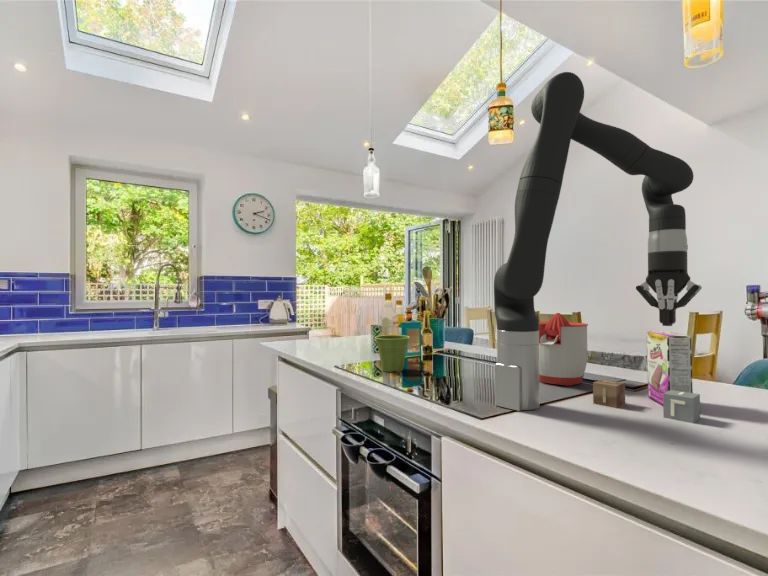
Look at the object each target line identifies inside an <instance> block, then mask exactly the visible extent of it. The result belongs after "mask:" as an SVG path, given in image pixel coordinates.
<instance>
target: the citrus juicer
mask: <svg viewBox="0 0 768 576" xmlns="http://www.w3.org/2000/svg"><path fill="white" fill-rule="evenodd" d="M588 326H589V324H588V323H585V322H573V321H568V320H567V319H566V318H565V316H563V315H562V314H561V313H559V312H557V313H556V312H555V314H553V316H552V317H551V318H549V320H547V321H539V383H541V384H543V383H544V384H552V385H560V386H561V385H562V386H564V387H571V386H572V385H579V384H580V383H582V380H583V379H584V376H585V371H586V370H587V369H586V368H587V364H588Z"/></svg>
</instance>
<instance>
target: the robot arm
mask: <svg viewBox="0 0 768 576" xmlns="http://www.w3.org/2000/svg"><path fill="white" fill-rule="evenodd" d="M584 101H585V87H584V83H583V81H582V80H581V78H580V77H579V76H578V75H577V74H576V73H573V72H571V71H564V72H563V71H562V72H560V73H558V74H556V75H554V76H553V77H551V78H550V79H549V80H547V82H546V83H545V84H544V85H543V86H542V87H541V89H540V90H539V91H538V93H537V94H536V95H535V96H534V98H533V100H532V102H531V108H530V109H531V114H532V117H533V118H534V120H535V121H536V122H537V123H539V128H538V132H537V136H536V138H535V141H534V143H533V145H532V148H531V149H530V151H529V154H528V156H527V158H526V160H525V162H524V165H523V167H522V170H521V173H520V177H519V180H518V181H519V182H518V185H517V190H516V194H515V199H514V226H515V227H514V235H513V236H514V237H513V242H512V245H511V249H510V252H509V254H508V259H507V261H506V263H504V264H502V265H500V267H499V268H498V269H497V271H495V274H494V280H493V298H494V299H493V300H494V316H495V317H494V318H495V320H496V359H497V360H496V363H495V364H494V366H495V367H494V372H495V373H494V375H495V376H494V379H495V381H494V383H495V384H494V386H495V389H494V391H495V393H494V394H495V396H494V397H495V398H494V399H495V403H494V405H495V406H497V407H502V408H505V409H510V410H514V411H518V412H521V411H529V410H532V411H533V410H536V409H539V408H540V406H541V405H540V404H541V403H540V402H541V400H540V399H541V398H540V397H541V396H540V393H541V392H540V387H541V386H540V381H539V322H540V320H539V317H538V316H537V314H536V310H535V301H534V300H535V298H534V297H535V296H536V295H538V293H539V292H540V290H541V288H542V286H543V282H544V277H545V276H544V275H545V266H546V257H547V256H546V255H547V249H548V244H549V243H548V242H549V237H550V234H551V231H552V226H553V224H554V219H555V214H556V210H557V207H558V202H559V199H560V194H561V190H562V187H563V180H564V175H565V169H566V165H567V162H568V157H569V156H568V155H569V149H570V145H571V140H572V141H574V142H576V143H578V144H580V145H583V146H584V147H586V148H588V149H590V150H591V151H594V152H595V153H597V154H598V155H599V156H601V157H602V158H604V159H606V160H607V161H609V162H610V163H611V164H612V165H614V166H615V167H617V168H619V169H620V170H622V171H623V172H624V173H626V174H628V175H629V176H639V175H640V176H641V175H643V176H644V177H643V179H642V183H641V193H642V197H643V202H644V205H645V208H646V211H647V214H648V238H647V276H646V277H645V281H644V282H643V283H641V284H640V285H636V286H635V290H636V291H637V292H638V293H639V294H640V295H641V296H642V298H643V299H644V300H645V301H646V302H647V304H648V305H650V306H651V307H653V308H656V309H658V311H659V317H658V320H659V323H660V324H662V326H663V327H672V326H673V325H674V324H675V323H676V319H677V318H676V317H677V313H676V312H677V309H680V308H684V307H686V305H688V304H689V303H690V302H691V300H692V299H693V298H694V297H696V296H697V294H698V293H699V292H700V291H701V290H702V285H700V284H697V283H695V282H694V281H692V280H691V277H690V275H689V273H688V249H689V247H688V246H689V245H688V238H687V237H688V236H687V233H686V232H687V231H686V229H687V228H686V226H687V219H686V218H687V217H686V210H685V207H684V206H683V205H682V204H677V203H676V204H675V203H674V201H673V198H672V197H673V195H675V194H677V193H680V192H683V191H685V190H686V189H688V188H689V187H690V186H691V185H692V183H693V181H694V171H693V169H692V167H691V166H690V165H689V164H688V163H687V162H686V161H685V160H683V159H682V158H679V157H677V156H675V155H673V154H669V153H667V152H664V151H662V150H658V149H656V148H653V147H651V146H650V145H649V144H647V143H646V142H644V141H643V140H641V139H640V138H638V137H637V136H636V135H634V134H633V133H631V132H629V131H627V130H625V129H622V128H620V127H617V126H614V125H610V124H607V123H602V122H599V121H597V120H595V119H593V118H589V117H588V116H586V115H585V114H583V113H582V112H581V109H582V106H583V103H584ZM650 288H651V289H652V291H653V292H654V293H655V294H656V298H655V297H654V295H653V294H652V293H651V292H650V290H651V289H650ZM684 289H685V290H686V291H687V292H685V294H684V295H682V297H681V298H679V294H680V293H681V292H682V291H683V290H684ZM678 299H679V300H678Z"/></svg>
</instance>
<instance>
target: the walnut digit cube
mask: <svg viewBox="0 0 768 576" xmlns="http://www.w3.org/2000/svg"><path fill="white" fill-rule="evenodd" d="M592 394H593V395H592V396H593V397H592V402H593V405H599V406H604V407H607V408H608V407H609V408H613V409H618V408H620V407H622V406H624V405H626V383H625V382H622V381H614V380H607V379H603V378H602V379H598V380H596V381H594V382H592Z"/></svg>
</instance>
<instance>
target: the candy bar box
mask: <svg viewBox="0 0 768 576" xmlns="http://www.w3.org/2000/svg"><path fill="white" fill-rule="evenodd" d="M692 351H693V350H692V336H690V335H686V334H681V333H678V332H673V331H668V330H647V331H646V354H647V355H646V357H647V358H646V359H647V360H646V361H647V397H648V398H650V399H651V400H652V401H654V402H656V403H657V404H659V405H661V406H663V394H664V393H666V392H668V391H670V390H675V391H682V392H688V393H694V392H693V390H694V389H693V355H692V353H693V352H692Z"/></svg>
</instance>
